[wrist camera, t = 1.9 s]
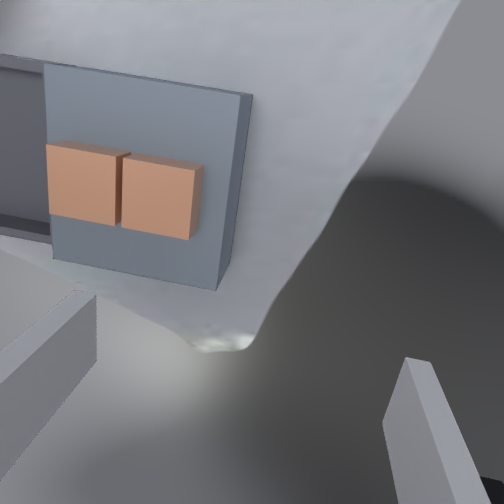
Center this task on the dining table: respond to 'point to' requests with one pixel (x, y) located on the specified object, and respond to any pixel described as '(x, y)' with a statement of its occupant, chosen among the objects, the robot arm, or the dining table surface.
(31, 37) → the dining table surface
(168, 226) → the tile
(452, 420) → the robot arm
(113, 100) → the blue-grey square block
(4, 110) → the box
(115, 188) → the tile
